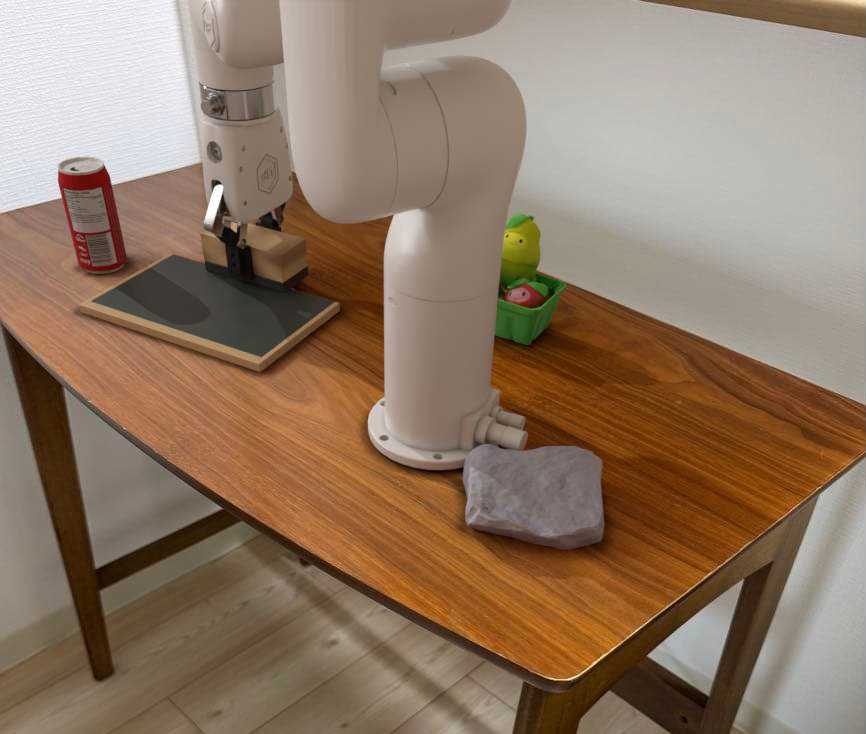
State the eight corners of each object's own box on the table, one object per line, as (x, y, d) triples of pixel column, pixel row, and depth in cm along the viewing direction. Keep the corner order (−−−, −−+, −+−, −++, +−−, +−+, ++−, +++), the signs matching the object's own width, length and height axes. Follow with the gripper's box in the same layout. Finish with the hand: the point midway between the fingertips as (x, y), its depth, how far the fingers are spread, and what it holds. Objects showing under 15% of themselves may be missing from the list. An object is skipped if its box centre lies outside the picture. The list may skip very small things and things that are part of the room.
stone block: (606, 566, 74) (596, 473, 80) (614, 531, 70) (604, 436, 76) (461, 563, 74) (462, 471, 80) (461, 528, 70) (463, 434, 76)
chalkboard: (340, 310, 101) (339, 302, 100) (260, 372, 91) (259, 364, 90) (171, 260, 109) (169, 252, 108) (80, 312, 99) (78, 304, 98)
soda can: (112, 250, 110) (90, 149, 102) (136, 265, 107) (115, 163, 99) (70, 263, 107) (44, 160, 99) (94, 279, 104) (69, 175, 96)
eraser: (308, 275, 105) (306, 238, 102) (283, 293, 101) (280, 255, 98) (231, 253, 108) (227, 217, 105) (205, 270, 105) (199, 232, 102)
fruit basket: (439, 325, 99) (443, 225, 91) (478, 294, 105) (484, 197, 97) (532, 355, 95) (545, 253, 87) (567, 321, 101) (581, 222, 93)
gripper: (216, 129, 85) (238, 305, 97) (315, 85, 97) (324, 247, 109) (153, 115, 88) (183, 289, 100) (257, 73, 99) (272, 233, 111)
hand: (256, 265), depth 104 cm, fingers closed on eraser, 5 cm apart
